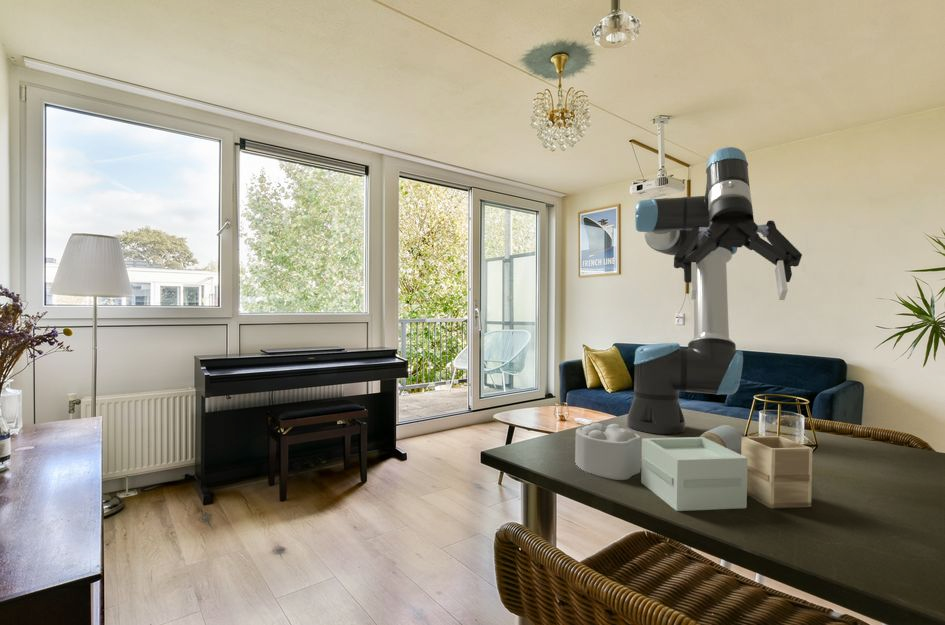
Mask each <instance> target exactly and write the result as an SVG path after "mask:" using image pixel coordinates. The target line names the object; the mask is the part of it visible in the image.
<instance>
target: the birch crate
mask: <svg viewBox="0 0 945 625" xmlns="http://www.w3.org/2000/svg"><path fill="white" fill-rule="evenodd" d="M813 451H814V450H813V448H812V447H810V446H807V445H804V444H802V443H799V442H796V441H794V440H792V439H791V440H790V439H788V438H786V437H784V436H783V437H782V436H780V435H774V436H773V435H769V436H767V435H766V436H765V435H764V436H763V435H761V436H743V437H742V443H741V455H742V456H744V457H747V458H748V465H747V497H750V498H752V499H753V500H756V501H757V502H759V503H760V504H762V505H764V506H766V507H767V508H769V509H786V508H787V509H788V508H809V507H812V486H813V480H812V479H813Z"/></svg>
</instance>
